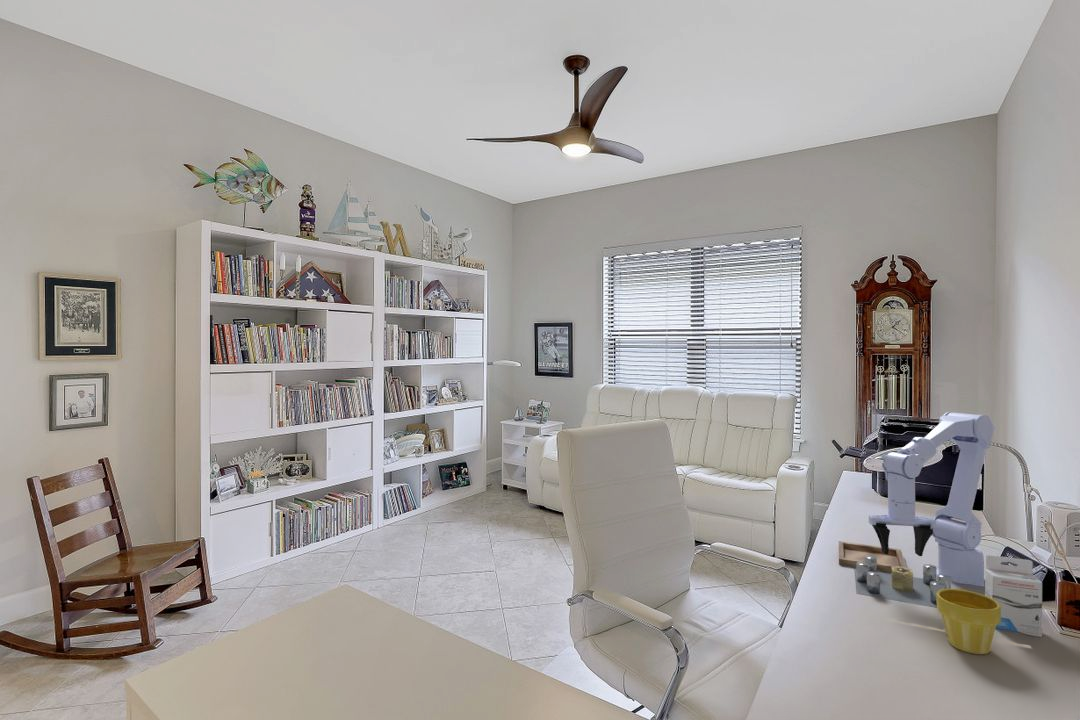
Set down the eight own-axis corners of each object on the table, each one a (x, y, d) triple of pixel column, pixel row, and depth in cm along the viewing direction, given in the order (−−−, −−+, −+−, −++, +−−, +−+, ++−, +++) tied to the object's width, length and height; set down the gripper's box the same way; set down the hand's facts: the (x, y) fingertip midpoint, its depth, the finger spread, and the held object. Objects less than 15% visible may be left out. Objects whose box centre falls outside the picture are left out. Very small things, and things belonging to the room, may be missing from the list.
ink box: (992, 629, 117) (991, 562, 117) (984, 619, 121) (984, 554, 121) (1043, 638, 113) (1042, 568, 113) (1033, 627, 118) (1033, 559, 118)
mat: (945, 583, 140) (945, 582, 140) (960, 613, 124) (960, 611, 124) (854, 569, 150) (854, 567, 150) (856, 595, 134) (856, 593, 134)
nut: (911, 585, 138) (911, 567, 138) (913, 593, 134) (913, 575, 134) (890, 582, 140) (890, 564, 140) (892, 589, 136) (892, 571, 136)
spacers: (945, 584, 139) (945, 566, 139) (957, 608, 126) (956, 589, 126) (855, 570, 148) (855, 553, 148) (857, 591, 135) (857, 573, 135)
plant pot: (938, 627, 118) (938, 583, 118) (1000, 643, 111) (1000, 596, 111) (935, 648, 110) (934, 600, 110) (1001, 666, 103) (1001, 615, 103)
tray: (900, 556, 159) (900, 549, 159) (907, 576, 145) (906, 568, 145) (838, 547, 166) (838, 541, 166) (838, 566, 152) (838, 558, 152)
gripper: (925, 497, 139) (926, 549, 139) (863, 495, 142) (864, 546, 142) (940, 505, 132) (940, 560, 132) (874, 502, 135) (875, 556, 135)
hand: (901, 553), depth 137 cm, fingers open, 7 cm apart
